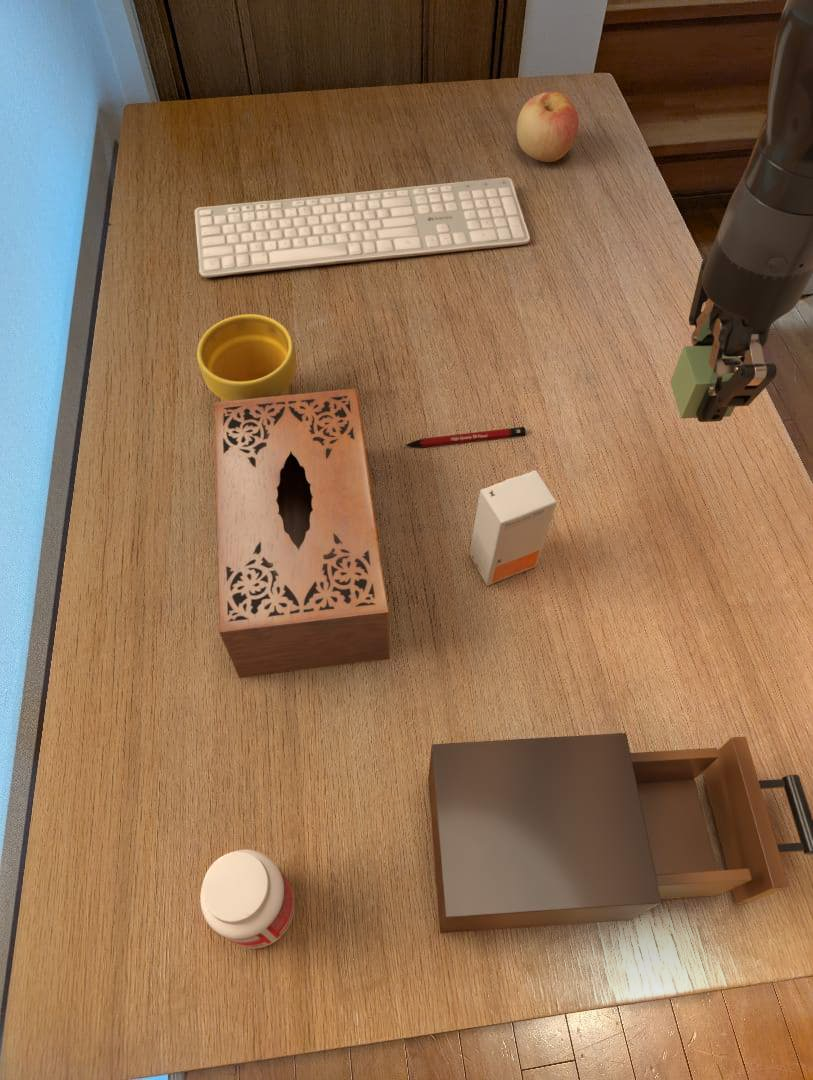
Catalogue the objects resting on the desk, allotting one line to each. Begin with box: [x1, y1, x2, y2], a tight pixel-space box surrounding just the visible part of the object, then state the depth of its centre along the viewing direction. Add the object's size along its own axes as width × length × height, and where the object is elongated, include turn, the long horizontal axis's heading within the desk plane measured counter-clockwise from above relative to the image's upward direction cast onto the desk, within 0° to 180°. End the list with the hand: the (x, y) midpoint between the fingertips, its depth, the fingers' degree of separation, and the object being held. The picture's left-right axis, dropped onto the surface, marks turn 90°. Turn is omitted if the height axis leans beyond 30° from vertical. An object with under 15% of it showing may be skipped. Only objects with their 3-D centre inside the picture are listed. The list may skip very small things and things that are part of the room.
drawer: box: [630, 736, 813, 905], centre depth 66 cm, size 19×11×8 cm, turn 94°
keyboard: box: [194, 177, 531, 279], centre depth 111 cm, size 44×12×2 cm, turn 100°
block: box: [669, 345, 740, 419], centre depth 73 cm, size 4×4×4 cm
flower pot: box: [196, 313, 297, 402], centre depth 91 cm, size 10×10×10 cm
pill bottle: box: [199, 848, 296, 949], centre depth 63 cm, size 6×6×11 cm
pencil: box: [405, 426, 526, 448], centre depth 93 cm, size 1×14×1 cm, turn 99°
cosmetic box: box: [469, 470, 558, 587], centre depth 80 cm, size 6×4×12 cm
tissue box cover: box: [214, 387, 391, 678], centre depth 81 cm, size 26×14×10 cm, turn 8°
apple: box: [516, 91, 580, 163], centre depth 118 cm, size 9×9×8 cm
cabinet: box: [427, 732, 662, 934], centre depth 66 cm, size 16×13×10 cm
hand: (701, 396), depth 75 cm, fingers closed on block, 4 cm apart
